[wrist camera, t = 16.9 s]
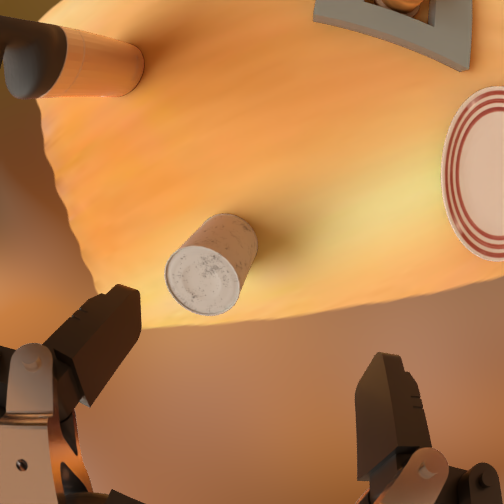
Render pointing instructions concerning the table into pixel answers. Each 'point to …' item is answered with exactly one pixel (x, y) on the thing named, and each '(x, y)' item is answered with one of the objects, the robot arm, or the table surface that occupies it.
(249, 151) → the table surface
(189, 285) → the speckled tan cylinder
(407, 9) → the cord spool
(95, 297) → the robot arm
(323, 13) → the grey rectangular frame
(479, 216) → the dinner plate
